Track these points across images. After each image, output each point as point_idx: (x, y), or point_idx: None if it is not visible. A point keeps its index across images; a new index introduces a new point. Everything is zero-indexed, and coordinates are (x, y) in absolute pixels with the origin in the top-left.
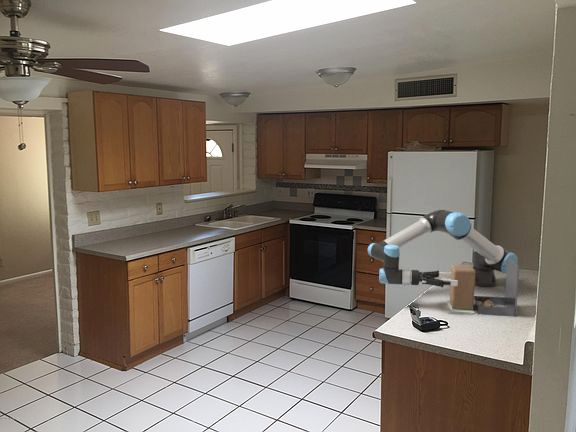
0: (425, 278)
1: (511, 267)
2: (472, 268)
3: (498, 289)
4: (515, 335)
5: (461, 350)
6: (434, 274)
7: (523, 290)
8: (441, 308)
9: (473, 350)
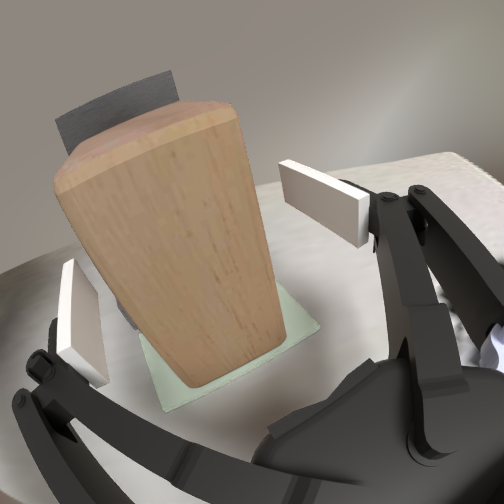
0: None
1: (110, 112)
2: (138, 116)
3: (6, 311)
4: (352, 174)
5: None
6: (113, 403)
7: (17, 275)
8: (296, 399)
9: (491, 185)
